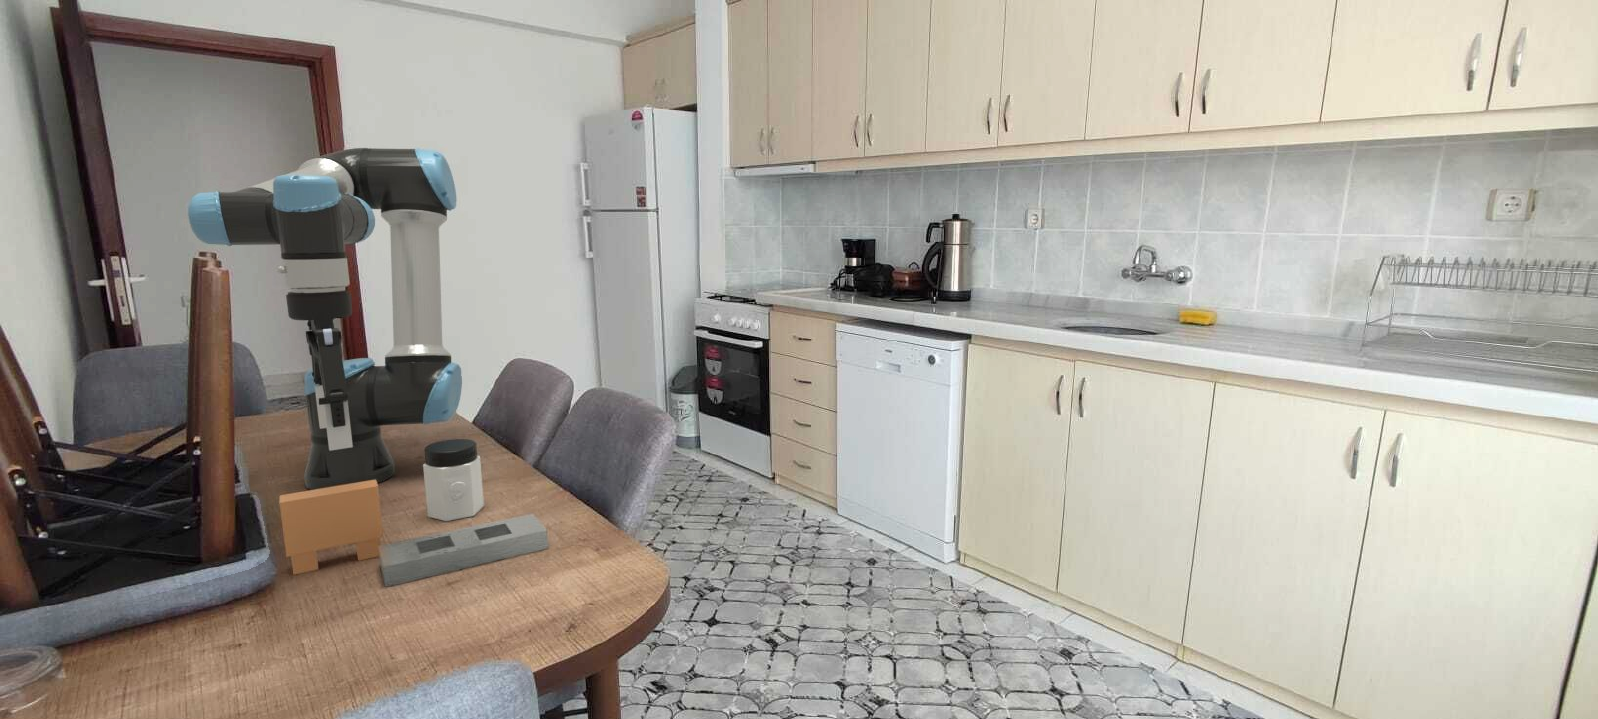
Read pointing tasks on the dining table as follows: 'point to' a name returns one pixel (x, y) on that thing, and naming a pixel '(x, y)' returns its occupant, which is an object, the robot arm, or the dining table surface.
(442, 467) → the jar
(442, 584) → the dining table surface
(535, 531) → the grey slotted block
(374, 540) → the tan notched block
